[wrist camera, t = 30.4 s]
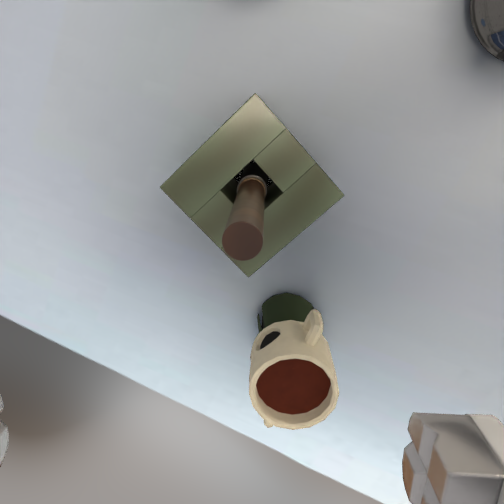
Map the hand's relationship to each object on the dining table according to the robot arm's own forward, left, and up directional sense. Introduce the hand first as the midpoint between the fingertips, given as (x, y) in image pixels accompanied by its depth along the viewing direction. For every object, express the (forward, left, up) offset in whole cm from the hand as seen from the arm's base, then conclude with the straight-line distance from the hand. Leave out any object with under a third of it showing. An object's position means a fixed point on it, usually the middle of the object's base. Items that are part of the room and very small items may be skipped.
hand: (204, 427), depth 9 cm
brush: (0, 0, -35) cm, 35 cm away
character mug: (-15, +4, -35) cm, 38 cm away
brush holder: (0, 0, -35) cm, 35 cm away
